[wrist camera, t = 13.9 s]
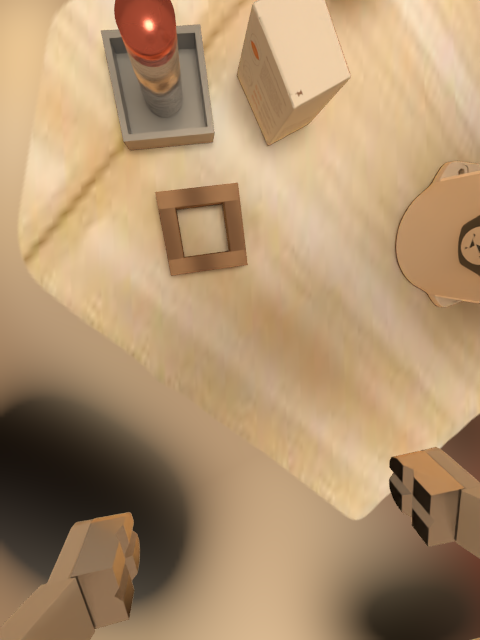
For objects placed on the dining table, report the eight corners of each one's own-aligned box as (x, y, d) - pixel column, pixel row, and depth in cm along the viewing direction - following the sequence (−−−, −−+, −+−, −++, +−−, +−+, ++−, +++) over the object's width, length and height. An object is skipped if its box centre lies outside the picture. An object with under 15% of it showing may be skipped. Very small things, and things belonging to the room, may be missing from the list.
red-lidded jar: (179, 72, 32) (169, -22, 20) (185, 116, 33) (180, 49, 21) (140, 75, 31) (108, -20, 20) (148, 119, 32) (122, 53, 21)
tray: (199, 44, 32) (200, 24, 29) (212, 142, 34) (214, 132, 31) (110, 50, 31) (100, 30, 28) (130, 150, 33) (123, 141, 30)
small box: (309, 124, 35) (353, 78, 25) (266, 147, 35) (294, 110, 25) (280, 49, 33) (316, -35, 23) (235, 73, 33) (251, 0, 23)
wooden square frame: (235, 186, 36) (237, 182, 33) (244, 263, 38) (247, 264, 36) (158, 195, 35) (155, 192, 33) (172, 273, 37) (171, 275, 35)
